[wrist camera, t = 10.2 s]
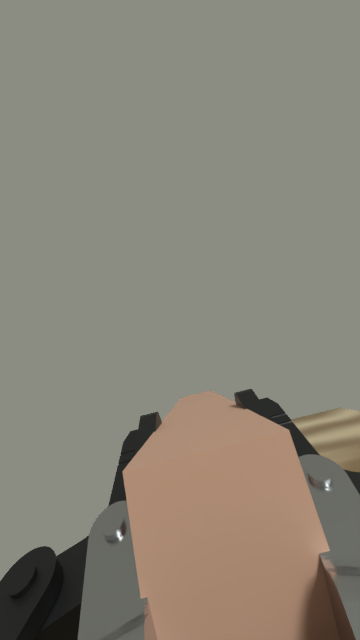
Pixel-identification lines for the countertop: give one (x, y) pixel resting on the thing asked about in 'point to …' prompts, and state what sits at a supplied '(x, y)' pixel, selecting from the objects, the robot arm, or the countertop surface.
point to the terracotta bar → (226, 528)
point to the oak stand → (334, 435)
